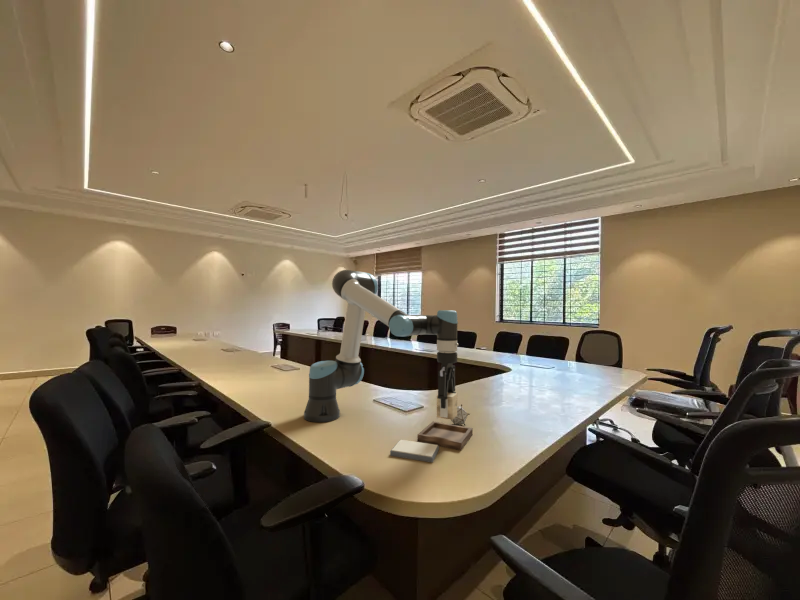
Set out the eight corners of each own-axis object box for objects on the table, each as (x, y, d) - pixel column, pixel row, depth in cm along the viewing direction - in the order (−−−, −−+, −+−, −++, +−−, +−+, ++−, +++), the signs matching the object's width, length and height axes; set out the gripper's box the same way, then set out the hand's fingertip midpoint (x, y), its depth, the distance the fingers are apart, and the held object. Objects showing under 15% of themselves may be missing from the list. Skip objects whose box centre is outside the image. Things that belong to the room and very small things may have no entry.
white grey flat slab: (390, 455, 108) (390, 450, 108) (399, 443, 118) (399, 438, 118) (432, 462, 104) (432, 456, 104) (438, 449, 113) (439, 444, 113)
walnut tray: (417, 441, 120) (417, 434, 120) (432, 427, 134) (433, 421, 134) (461, 450, 113) (461, 442, 113) (472, 434, 127) (472, 428, 127)
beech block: (436, 417, 122) (436, 395, 123) (442, 412, 128) (441, 391, 128) (452, 419, 120) (452, 397, 120) (457, 415, 125) (457, 393, 125)
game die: (461, 435, 137) (469, 420, 131) (442, 426, 138) (449, 411, 133) (466, 419, 144) (473, 404, 138) (447, 410, 145) (454, 395, 140)
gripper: (449, 355, 114) (448, 423, 114) (463, 349, 131) (463, 409, 131) (428, 353, 118) (428, 420, 117) (445, 348, 135) (445, 406, 134)
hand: (446, 414), depth 124 cm, fingers closed on beech block, 6 cm apart
